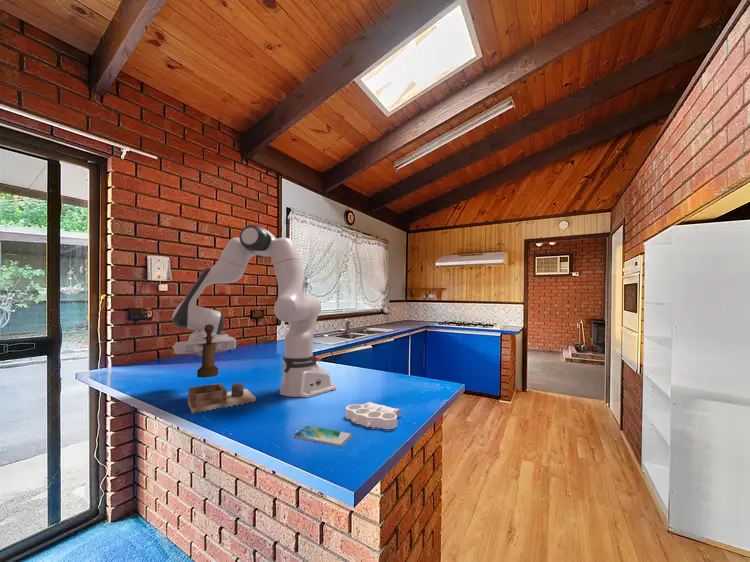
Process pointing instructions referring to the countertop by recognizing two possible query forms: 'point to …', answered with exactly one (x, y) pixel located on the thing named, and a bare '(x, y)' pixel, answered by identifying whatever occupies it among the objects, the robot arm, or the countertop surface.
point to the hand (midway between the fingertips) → (209, 348)
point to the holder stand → (217, 397)
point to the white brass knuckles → (373, 415)
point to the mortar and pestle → (208, 356)
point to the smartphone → (323, 435)
